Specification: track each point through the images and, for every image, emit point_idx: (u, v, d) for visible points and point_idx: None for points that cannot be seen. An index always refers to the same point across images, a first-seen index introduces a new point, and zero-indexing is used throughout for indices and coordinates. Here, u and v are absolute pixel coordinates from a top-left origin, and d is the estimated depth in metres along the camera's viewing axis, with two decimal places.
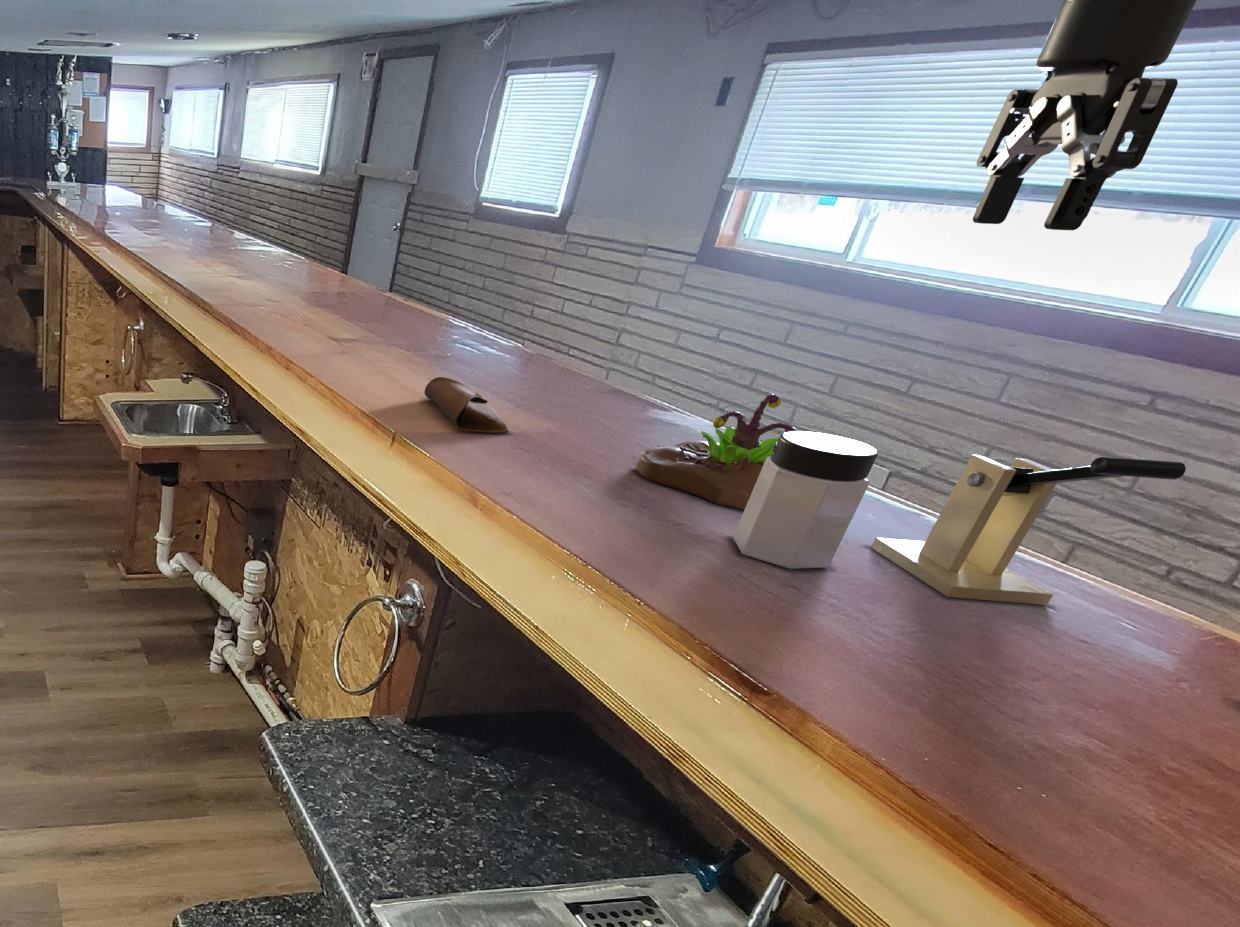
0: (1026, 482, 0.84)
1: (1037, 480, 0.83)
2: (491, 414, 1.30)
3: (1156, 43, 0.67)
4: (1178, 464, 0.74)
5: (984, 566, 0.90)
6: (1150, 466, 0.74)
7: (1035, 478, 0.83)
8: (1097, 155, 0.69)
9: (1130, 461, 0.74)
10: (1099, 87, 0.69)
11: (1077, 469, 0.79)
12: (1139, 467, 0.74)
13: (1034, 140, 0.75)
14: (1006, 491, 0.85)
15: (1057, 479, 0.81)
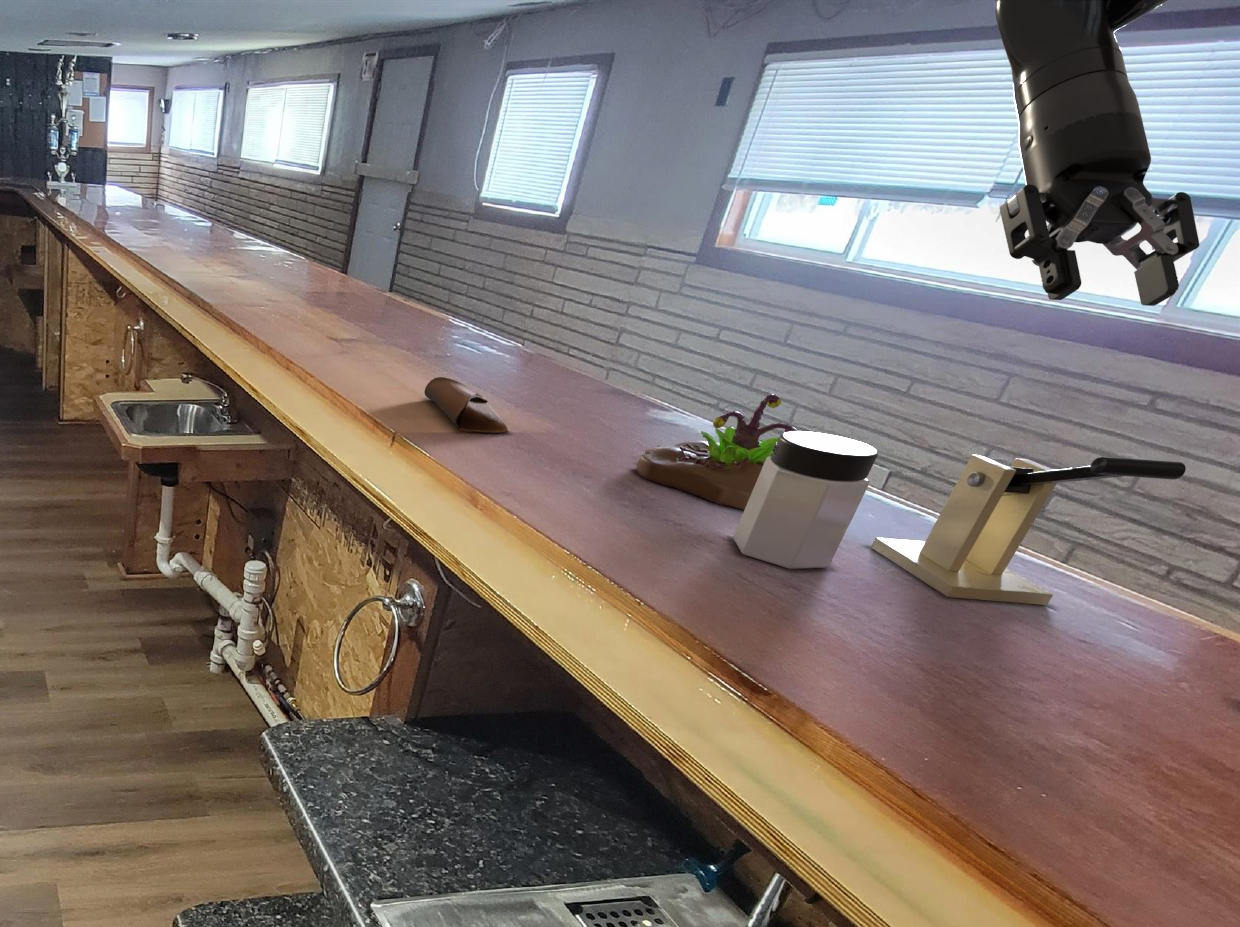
0: (1026, 482, 0.84)
1: (1037, 480, 0.83)
2: (491, 414, 1.30)
3: (1051, 164, 0.81)
4: (1178, 464, 0.74)
5: (984, 566, 0.90)
6: (1150, 466, 0.74)
7: (1035, 478, 0.83)
8: None
9: (1130, 461, 0.74)
10: None
11: (1077, 469, 0.79)
12: (1139, 467, 0.74)
13: None
14: (1006, 491, 0.85)
15: (1057, 479, 0.81)
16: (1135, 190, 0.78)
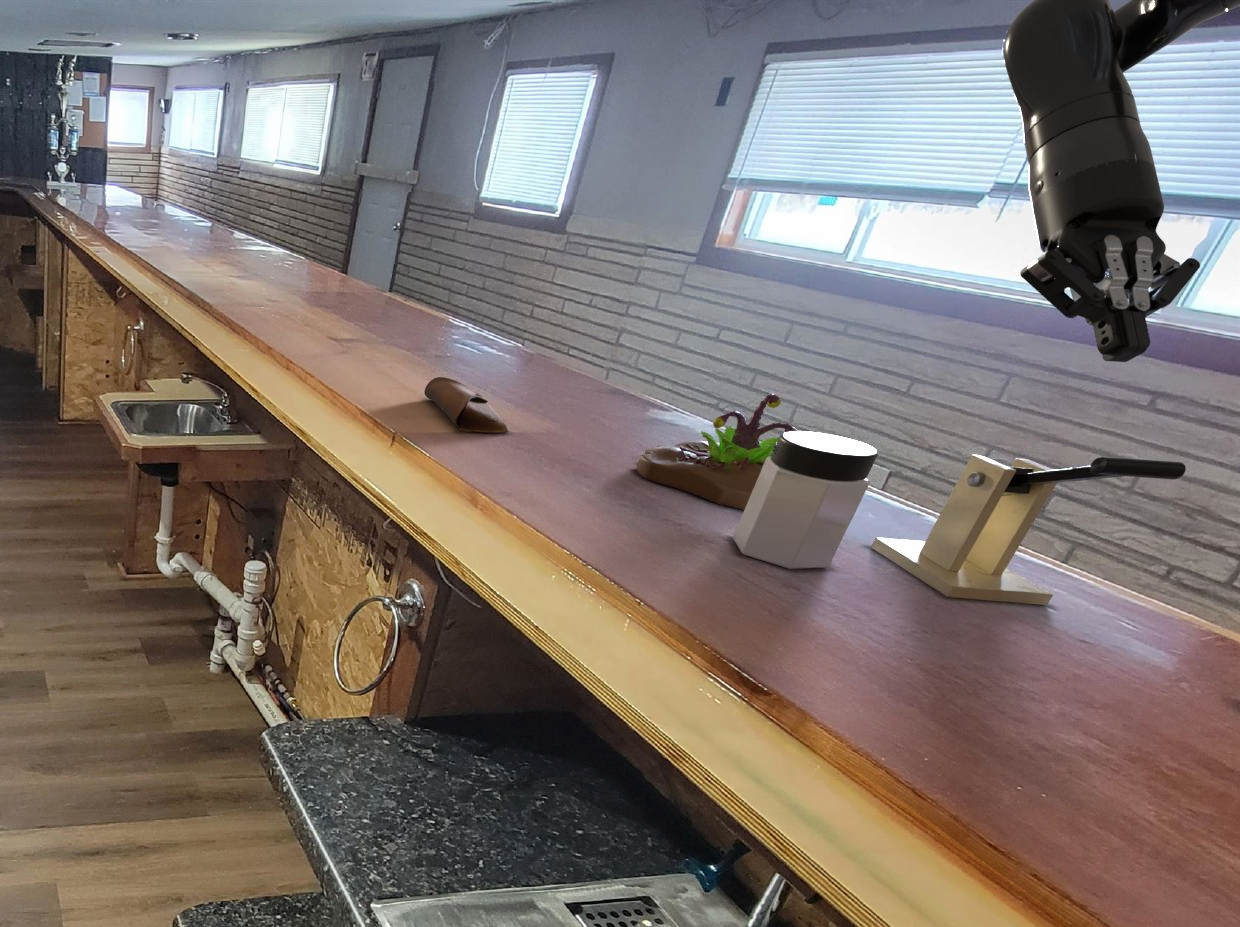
0: (1026, 482, 0.84)
1: (1037, 480, 0.83)
2: (491, 414, 1.30)
3: (1062, 211, 0.79)
4: (1178, 464, 0.74)
5: (984, 566, 0.90)
6: (1150, 466, 0.74)
7: (1035, 478, 0.83)
8: None
9: (1130, 461, 0.74)
10: None
11: (1077, 469, 0.79)
12: (1139, 467, 0.74)
13: None
14: (1006, 491, 0.85)
15: (1057, 479, 0.81)
16: (1150, 242, 0.77)
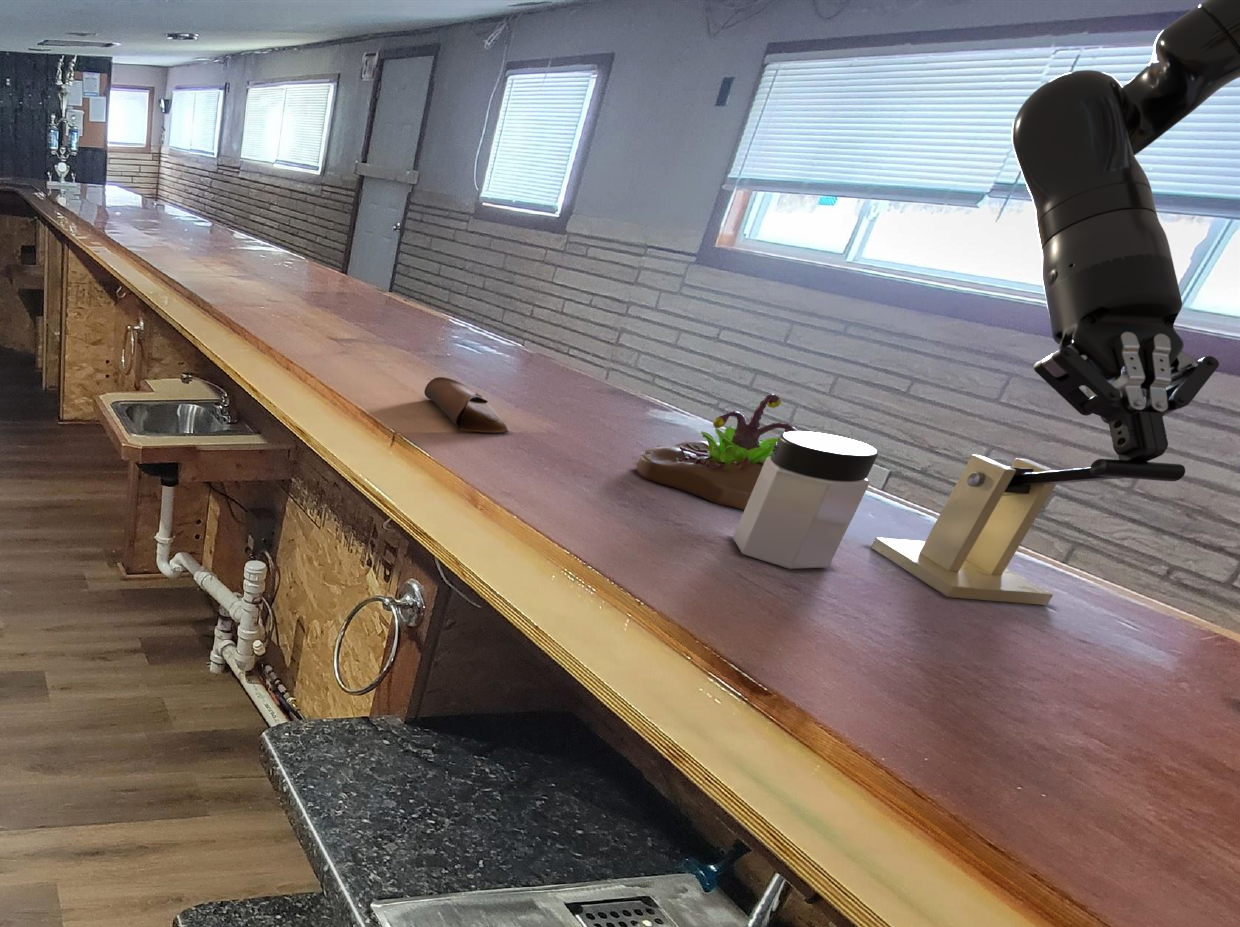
0: (1026, 482, 0.84)
1: (1037, 481, 0.83)
2: (491, 414, 1.30)
3: (1077, 305, 0.77)
4: (1178, 466, 0.74)
5: (984, 566, 0.90)
6: (1150, 468, 0.74)
7: (1034, 479, 0.83)
8: None
9: (1130, 463, 0.74)
10: None
11: (1077, 470, 0.79)
12: (1139, 469, 0.74)
13: None
14: (1006, 491, 0.85)
15: (1057, 480, 0.81)
16: (1168, 340, 0.75)
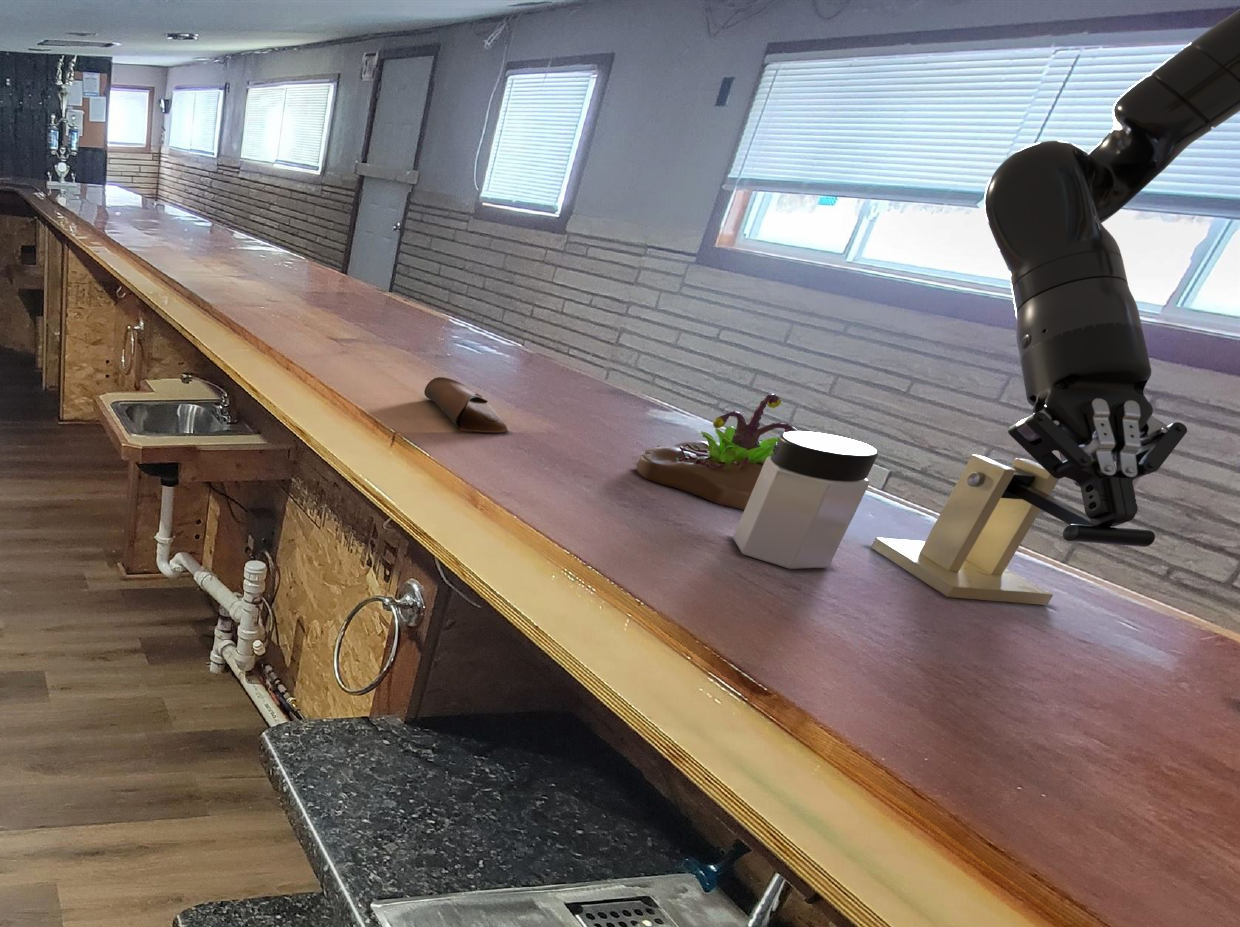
0: (1019, 496, 0.84)
1: (1028, 500, 0.83)
2: (491, 414, 1.30)
3: (1049, 370, 0.79)
4: (1149, 536, 0.75)
5: (984, 566, 0.90)
6: (1119, 538, 0.76)
7: (1027, 497, 0.83)
8: None
9: (1102, 533, 0.76)
10: None
11: (1062, 509, 0.80)
12: (1108, 539, 0.76)
13: None
14: None
15: (1043, 509, 0.82)
16: (1138, 406, 0.77)
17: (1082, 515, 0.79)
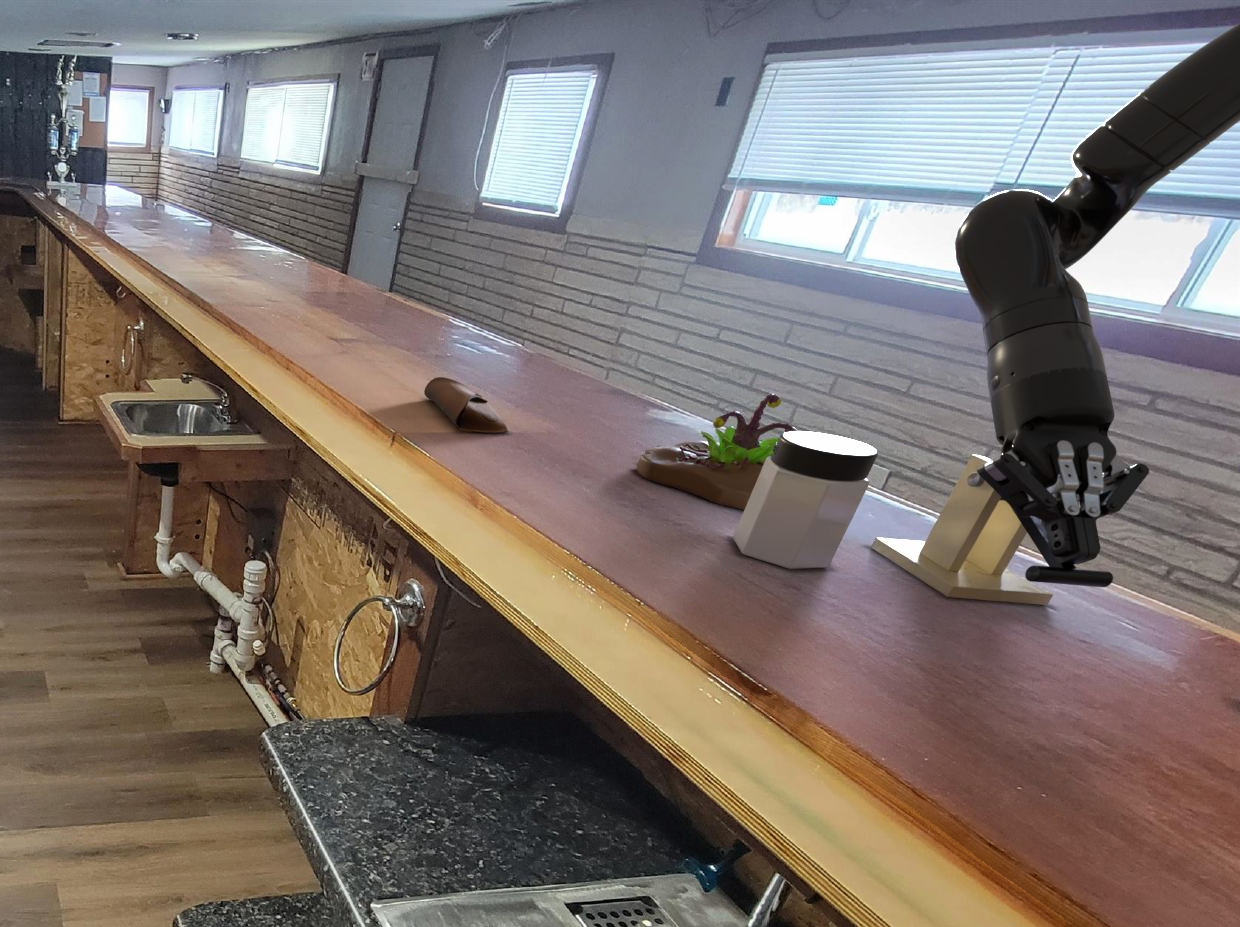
0: None
1: (1016, 512, 0.84)
2: (491, 414, 1.30)
3: (1017, 412, 0.82)
4: (1106, 580, 0.79)
5: (984, 566, 0.90)
6: (1077, 582, 0.79)
7: None
8: None
9: (1061, 577, 0.79)
10: None
11: (1040, 535, 0.82)
12: (1065, 582, 0.79)
13: None
14: None
15: (1025, 528, 0.83)
16: (1101, 448, 0.79)
17: None
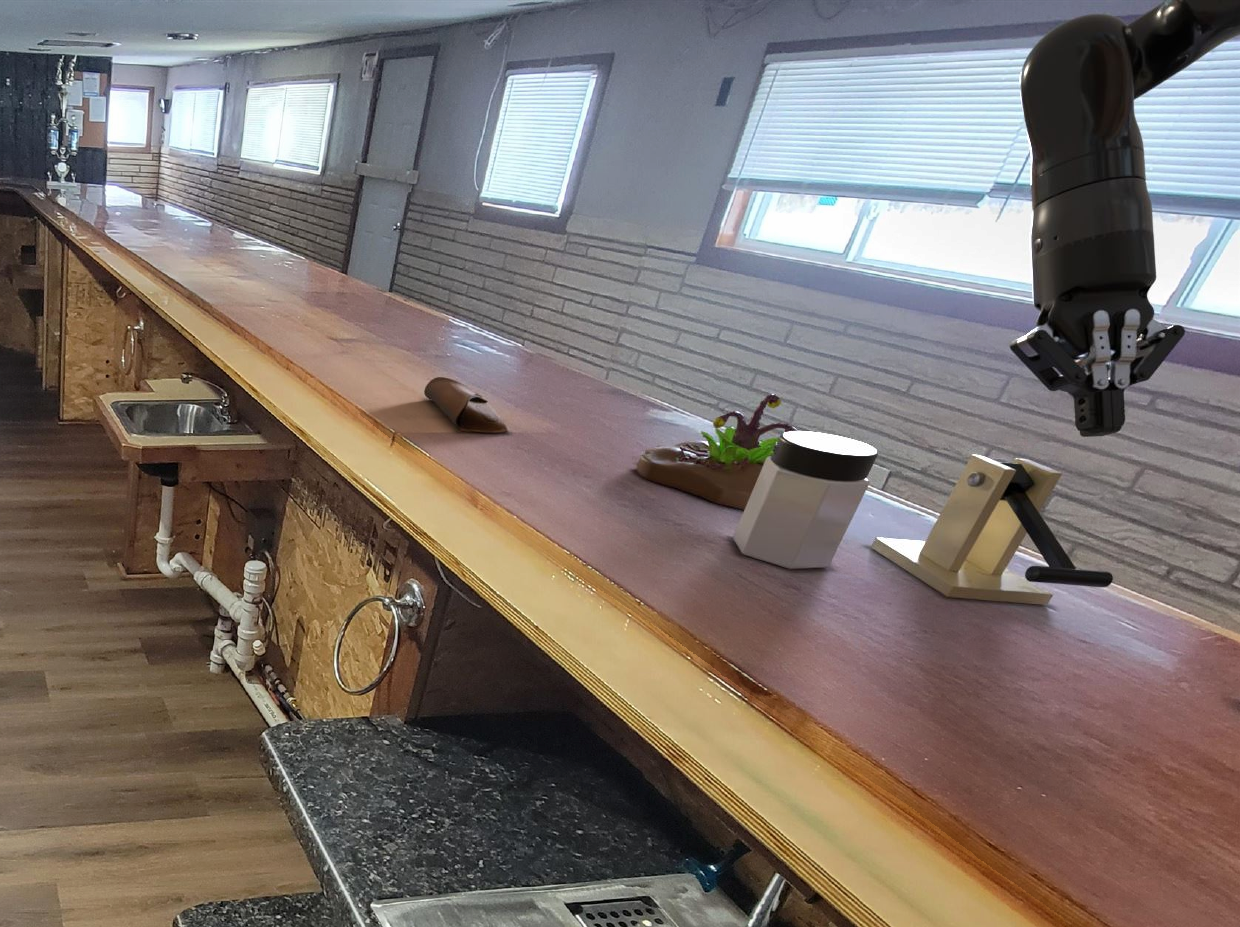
0: (1010, 504, 0.85)
1: (1016, 512, 0.84)
2: (491, 414, 1.30)
3: (1056, 281, 0.81)
4: (1106, 581, 0.79)
5: (984, 566, 0.90)
6: (1076, 582, 0.79)
7: (1016, 508, 0.84)
8: None
9: (1061, 577, 0.79)
10: None
11: (1040, 535, 0.82)
12: (1065, 582, 0.79)
13: None
14: None
15: (1025, 528, 0.83)
16: (1138, 314, 0.79)
17: (1055, 547, 0.81)
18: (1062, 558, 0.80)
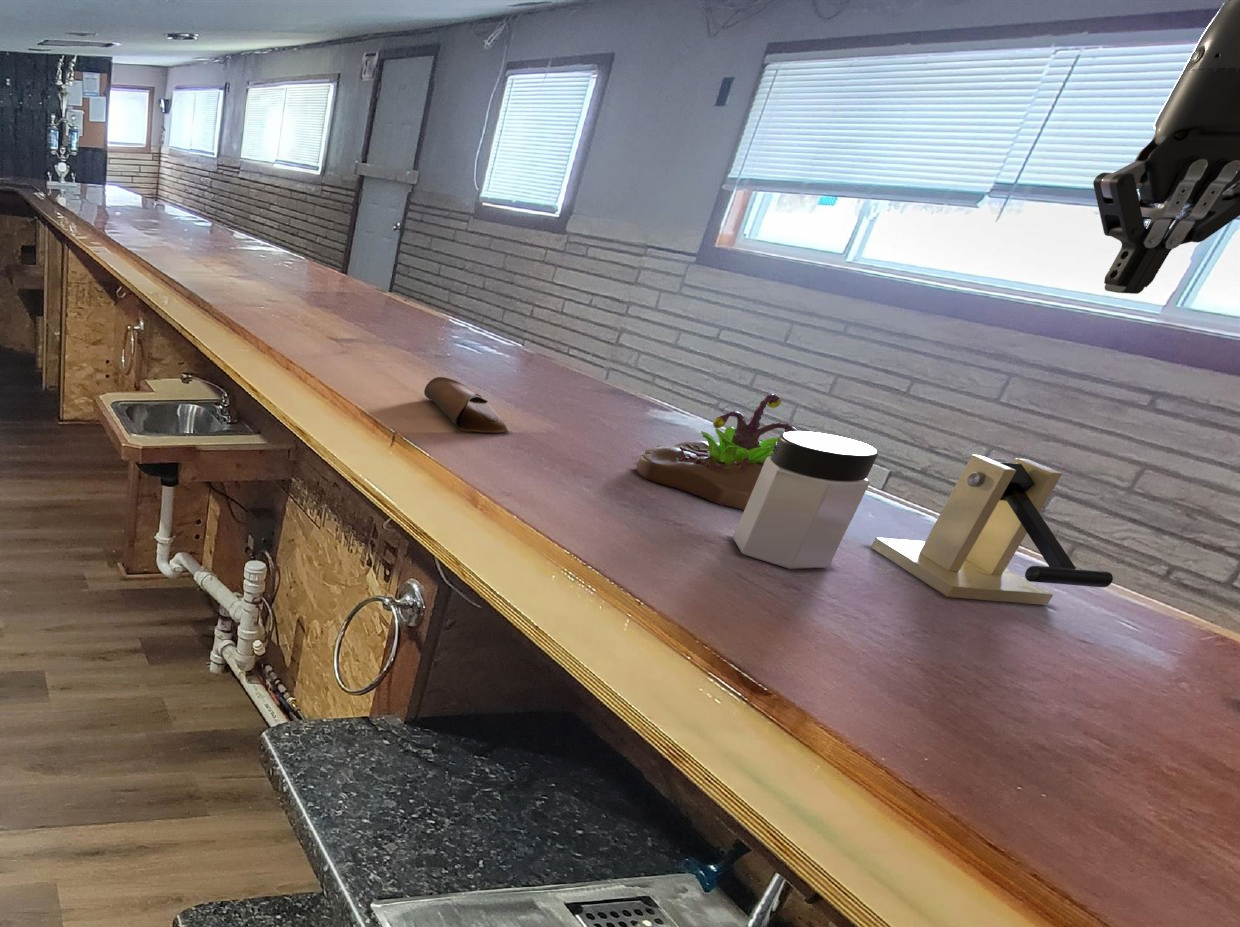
0: (1010, 504, 0.85)
1: (1016, 512, 0.84)
2: (491, 414, 1.30)
3: (1183, 112, 0.74)
4: (1106, 581, 0.79)
5: (984, 566, 0.90)
6: (1076, 582, 0.79)
7: (1016, 508, 0.84)
8: None
9: (1061, 577, 0.79)
10: None
11: (1040, 535, 0.82)
12: (1065, 582, 0.79)
13: None
14: None
15: (1025, 528, 0.83)
16: (1238, 167, 0.74)
17: (1055, 547, 0.81)
18: (1062, 558, 0.80)
